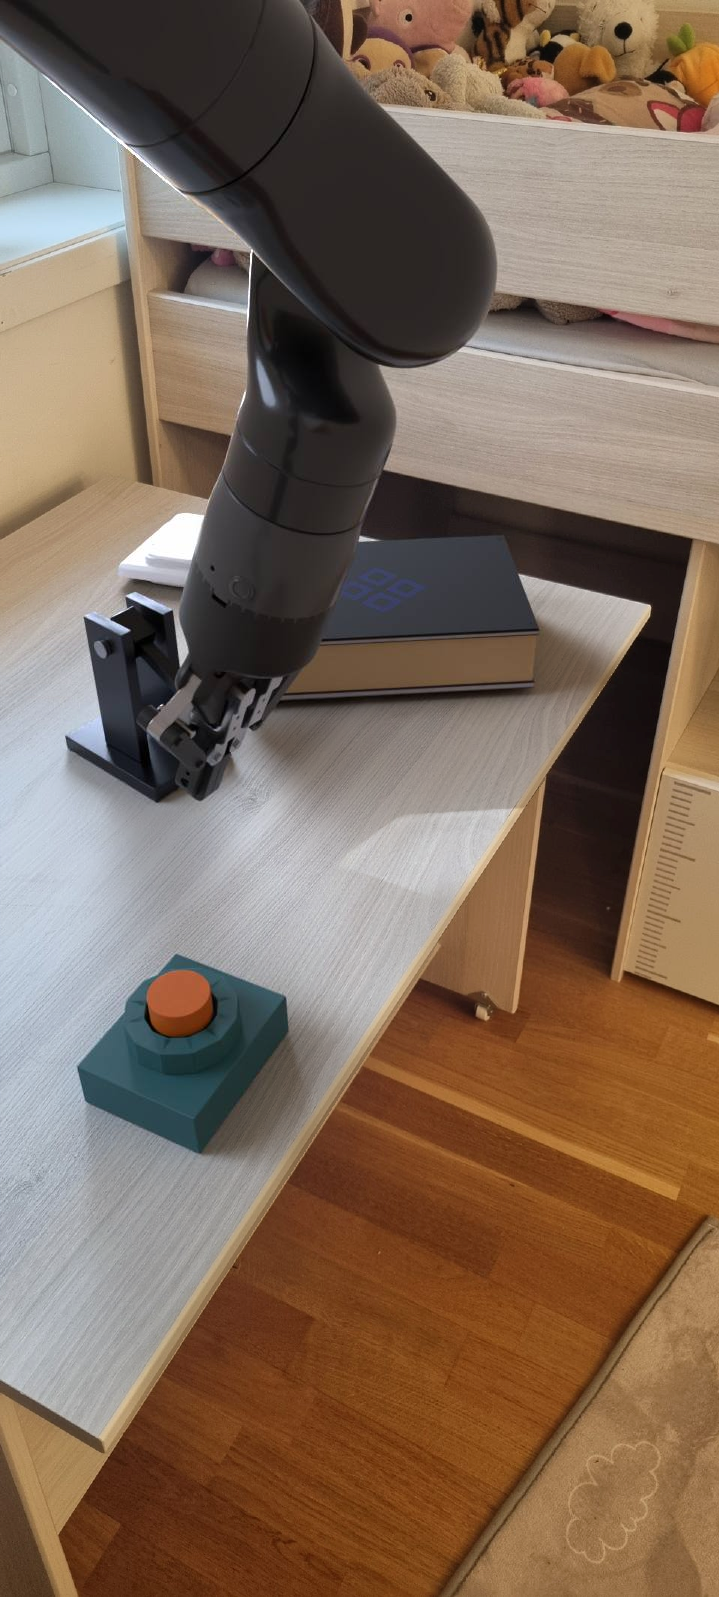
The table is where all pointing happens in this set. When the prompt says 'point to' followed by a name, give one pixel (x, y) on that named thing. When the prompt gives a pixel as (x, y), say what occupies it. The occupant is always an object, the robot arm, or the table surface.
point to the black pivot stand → (128, 702)
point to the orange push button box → (185, 1059)
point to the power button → (180, 1003)
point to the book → (425, 622)
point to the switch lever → (147, 645)
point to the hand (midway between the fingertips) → (195, 787)
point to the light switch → (165, 553)
